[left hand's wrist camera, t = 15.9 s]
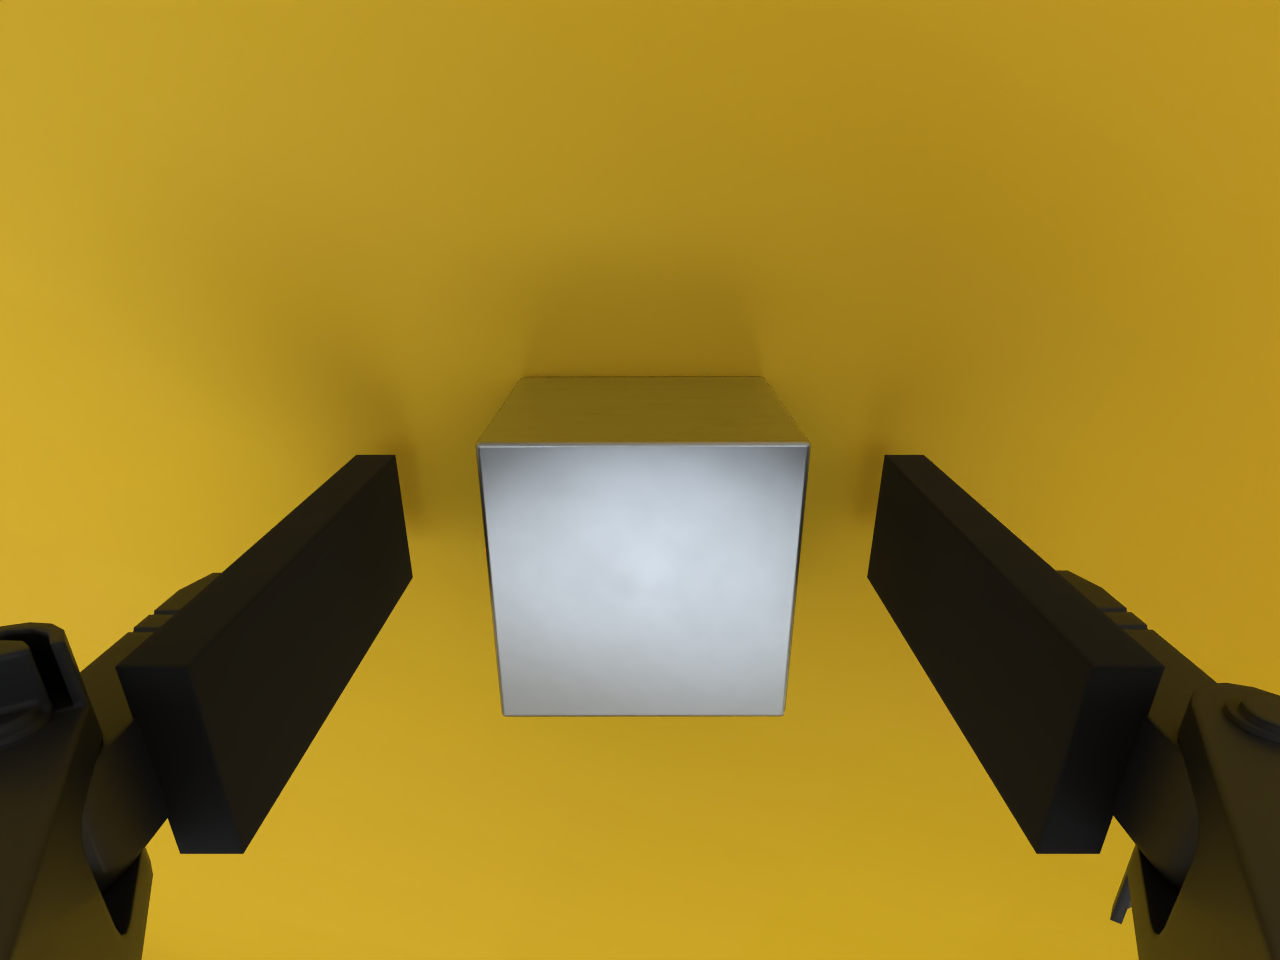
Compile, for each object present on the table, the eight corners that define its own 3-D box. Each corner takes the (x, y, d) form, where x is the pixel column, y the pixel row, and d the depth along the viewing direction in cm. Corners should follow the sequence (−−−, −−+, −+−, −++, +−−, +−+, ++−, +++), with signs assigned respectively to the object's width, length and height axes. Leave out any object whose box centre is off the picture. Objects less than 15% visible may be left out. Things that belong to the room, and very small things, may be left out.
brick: (535, 592, 16) (501, 718, 12) (520, 376, 14) (473, 442, 10) (749, 591, 16) (785, 718, 12) (764, 375, 14) (812, 442, 10)
